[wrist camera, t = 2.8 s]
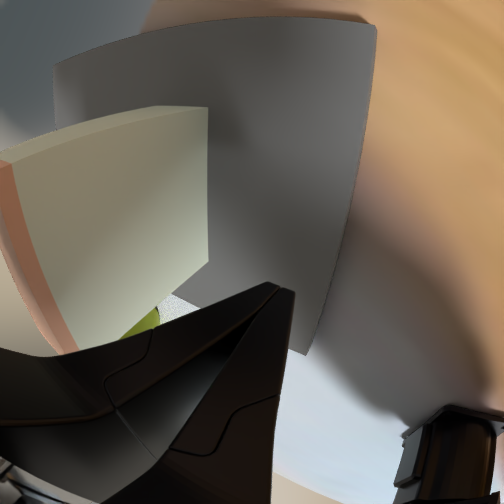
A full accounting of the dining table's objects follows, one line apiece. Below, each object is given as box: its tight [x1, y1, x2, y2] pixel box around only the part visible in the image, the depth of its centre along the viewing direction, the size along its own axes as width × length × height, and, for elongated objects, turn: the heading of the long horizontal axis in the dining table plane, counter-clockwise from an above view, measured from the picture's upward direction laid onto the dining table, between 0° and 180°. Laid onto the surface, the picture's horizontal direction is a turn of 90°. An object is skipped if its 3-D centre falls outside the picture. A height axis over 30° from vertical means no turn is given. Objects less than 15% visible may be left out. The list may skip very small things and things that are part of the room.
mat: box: [53, 17, 377, 356], centre depth 15 cm, size 22×16×1 cm
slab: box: [0, 106, 208, 355], centre depth 11 cm, size 3×8×9 cm, turn 177°
